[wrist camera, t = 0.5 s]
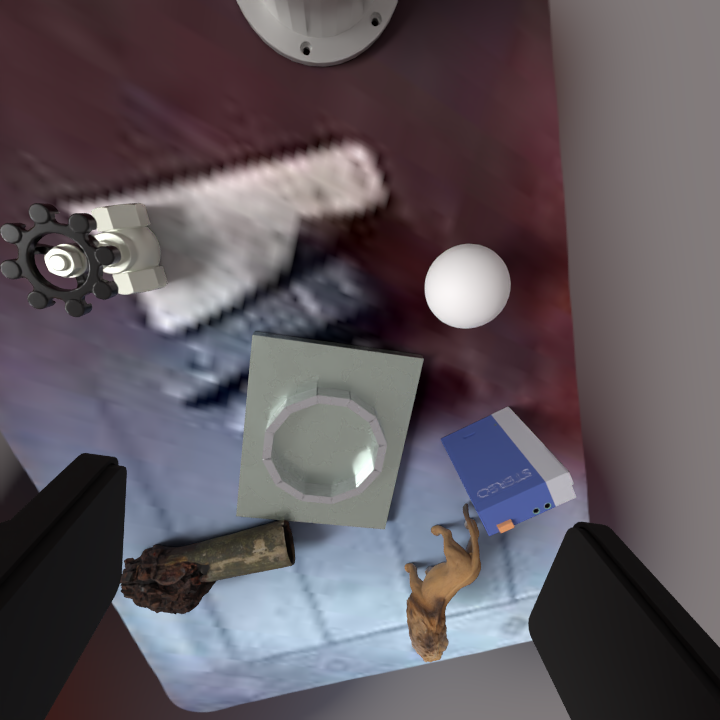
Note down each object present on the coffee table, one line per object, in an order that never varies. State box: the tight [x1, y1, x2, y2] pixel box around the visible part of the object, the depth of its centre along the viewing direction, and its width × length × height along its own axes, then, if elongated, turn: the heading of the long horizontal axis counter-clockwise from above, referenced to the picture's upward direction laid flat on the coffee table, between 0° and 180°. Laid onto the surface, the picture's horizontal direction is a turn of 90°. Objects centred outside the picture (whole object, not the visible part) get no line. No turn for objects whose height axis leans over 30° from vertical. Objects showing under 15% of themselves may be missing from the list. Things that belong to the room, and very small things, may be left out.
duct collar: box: [236, 331, 424, 529], centre depth 41 cm, size 20×16×3 cm
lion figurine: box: [405, 504, 481, 662], centre depth 45 cm, size 15×5×9 cm, turn 157°
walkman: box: [441, 407, 576, 536], centre depth 39 cm, size 8×3×12 cm, turn 117°
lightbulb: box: [425, 244, 511, 329], centre depth 33 cm, size 6×6×11 cm
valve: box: [0, 203, 168, 317], centre depth 30 cm, size 7×7×12 cm
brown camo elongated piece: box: [120, 520, 295, 614], centre depth 44 cm, size 18×7×6 cm, turn 101°
